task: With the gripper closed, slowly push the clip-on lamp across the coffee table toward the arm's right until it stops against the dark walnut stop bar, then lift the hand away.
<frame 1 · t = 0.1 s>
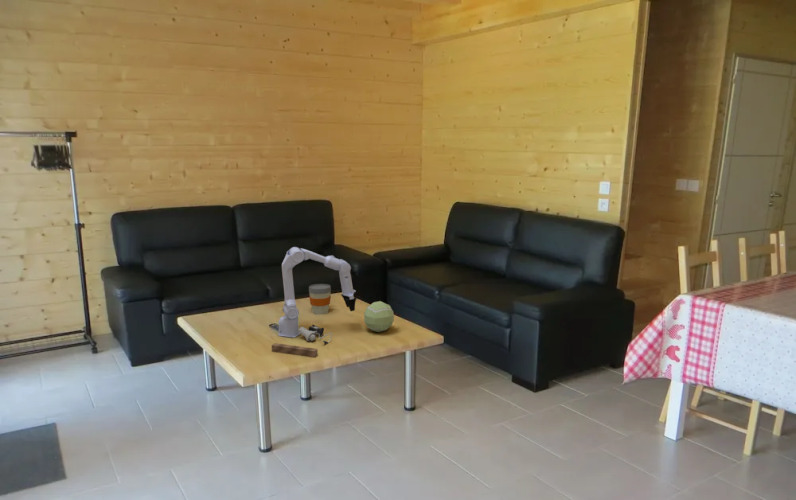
hand: (350, 308, 298), 10 cm above the table, tool pointing down, fingers open, 7 cm apart
clip-on lamp: (316, 340, 283), on the table
reusable coffee cup: (320, 312, 328), on the table
decorative sphere: (378, 331, 296), on the table
stop bar: (294, 353, 264), on the table
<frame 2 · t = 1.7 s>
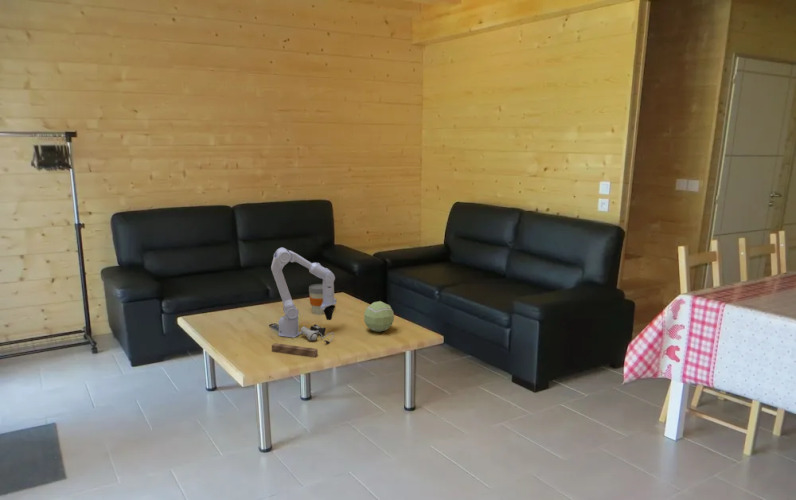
hand: (328, 319, 294), 6 cm above the table, tool pointing down, fingers closed
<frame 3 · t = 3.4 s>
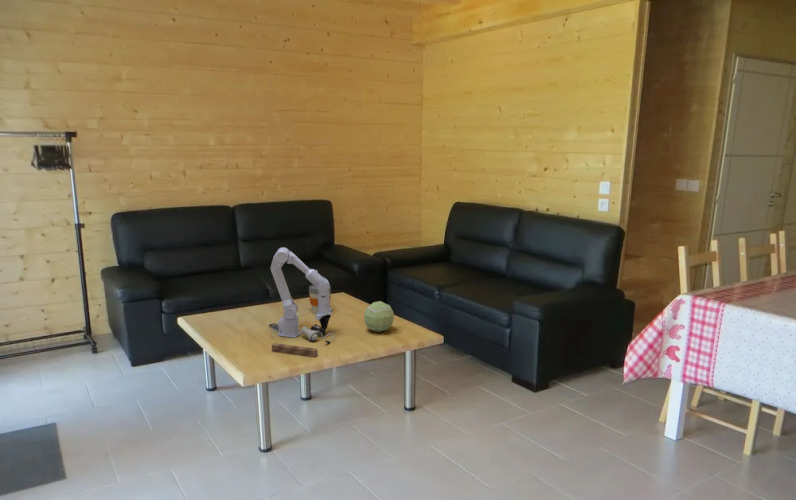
hand: (324, 329, 290), 2 cm above the table, tool pointing down, fingers closed
clip-on lamp: (319, 339, 283), on the table, touching gripper
everything else where it was.
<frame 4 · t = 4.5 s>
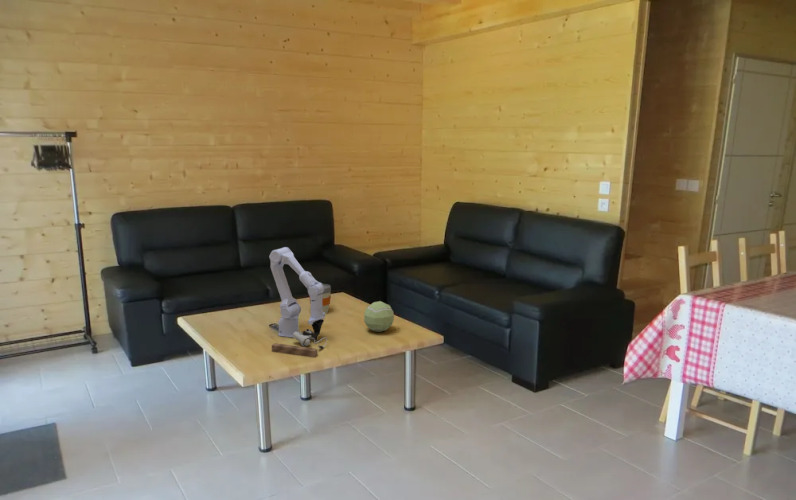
hand: (317, 334, 283), 2 cm above the table, tool pointing down, fingers closed
clip-on lamp: (311, 345, 276), on the table, touching gripper
everything else where it was.
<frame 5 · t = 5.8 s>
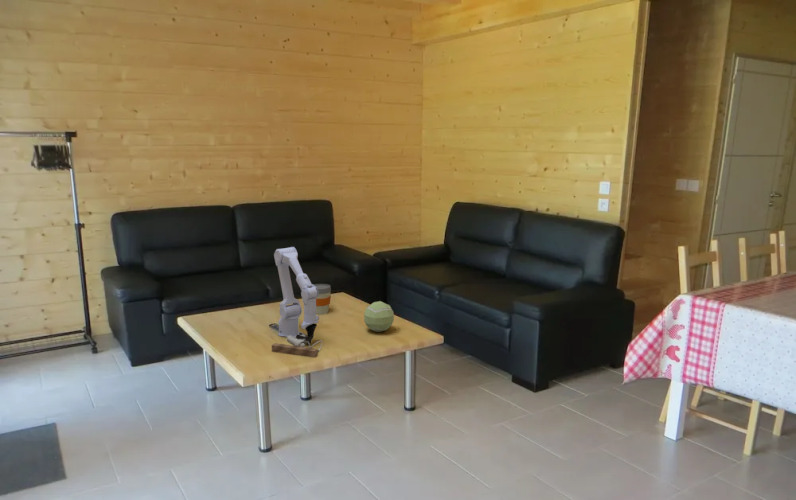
hand: (310, 338, 277), 2 cm above the table, tool pointing down, fingers closed, pressing on clip-on lamp
clip-on lamp: (306, 348, 271), on the table, touching gripper, stop bar
everything else where it was.
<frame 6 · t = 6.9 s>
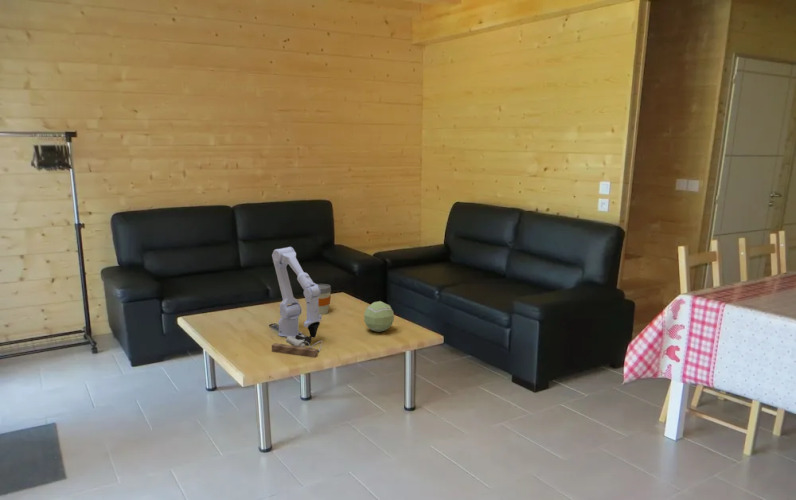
hand: (313, 337, 279), 2 cm above the table, tool pointing down, fingers closed
clip-on lamp: (305, 349, 271), on the table
everything else where it was.
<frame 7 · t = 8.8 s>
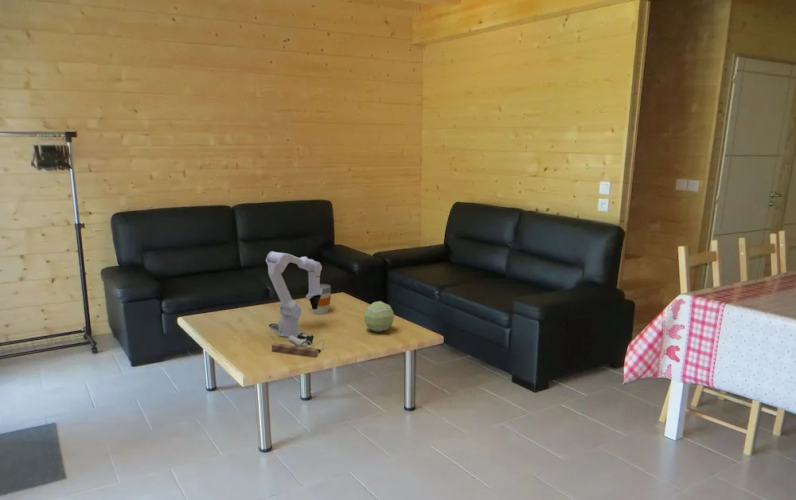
hand: (314, 309, 301), 9 cm above the table, tool pointing down, fingers closed
clip-on lamp: (307, 348, 272), on the table
everything else where it was.
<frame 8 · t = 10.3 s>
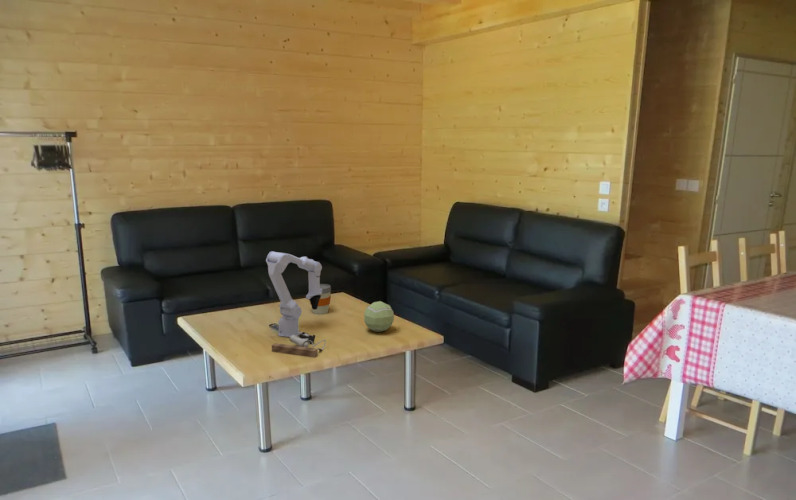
hand: (314, 309, 301), 9 cm above the table, tool pointing down, fingers closed
at the end: clip-on lamp inside the target area (2.7 cm from its centre), on the table; clip-on lamp tilted 0°; clip-on lamp moved 10.8 cm from its start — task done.
